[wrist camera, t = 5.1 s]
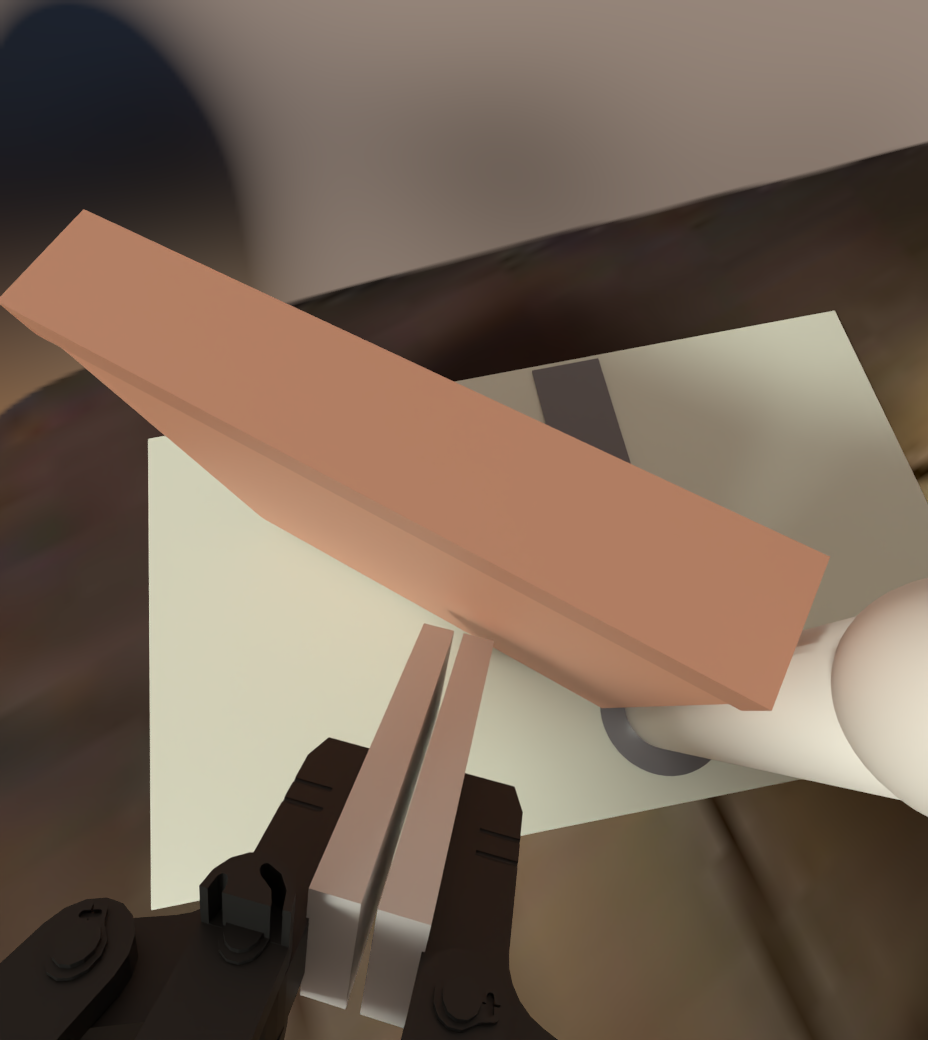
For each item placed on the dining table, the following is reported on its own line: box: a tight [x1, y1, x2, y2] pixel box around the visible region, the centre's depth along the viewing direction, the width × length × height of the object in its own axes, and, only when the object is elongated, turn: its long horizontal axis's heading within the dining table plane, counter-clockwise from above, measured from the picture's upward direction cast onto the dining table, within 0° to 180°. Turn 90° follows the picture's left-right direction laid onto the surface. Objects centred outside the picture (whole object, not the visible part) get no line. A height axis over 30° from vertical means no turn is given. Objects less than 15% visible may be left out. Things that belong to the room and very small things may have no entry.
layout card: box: [148, 311, 928, 910], centre depth 18 cm, size 25×14×1 cm, turn 101°
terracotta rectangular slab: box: [0, 210, 830, 711], centre depth 13 cm, size 12×2×10 cm, turn 61°
